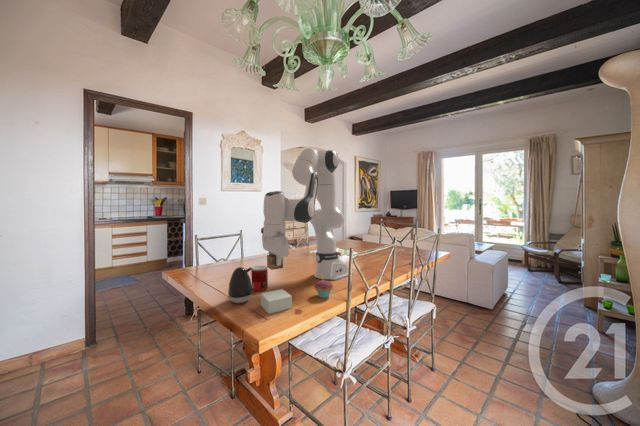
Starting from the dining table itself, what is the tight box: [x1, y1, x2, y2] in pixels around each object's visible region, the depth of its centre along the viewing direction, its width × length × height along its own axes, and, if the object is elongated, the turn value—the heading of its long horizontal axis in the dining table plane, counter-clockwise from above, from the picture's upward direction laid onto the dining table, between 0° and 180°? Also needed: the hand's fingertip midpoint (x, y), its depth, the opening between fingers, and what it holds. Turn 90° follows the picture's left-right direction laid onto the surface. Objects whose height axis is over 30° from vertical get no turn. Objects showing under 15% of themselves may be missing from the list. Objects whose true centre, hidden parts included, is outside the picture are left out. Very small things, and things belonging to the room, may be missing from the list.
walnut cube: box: [266, 254, 284, 271], centre depth 105 cm, size 5×5×5 cm
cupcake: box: [314, 273, 334, 299], centre depth 117 cm, size 9×8×12 cm
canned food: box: [250, 265, 269, 293], centre depth 127 cm, size 8×8×11 cm
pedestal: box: [260, 288, 293, 315], centre depth 106 cm, size 10×10×5 cm
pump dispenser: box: [227, 266, 253, 304], centre depth 112 cm, size 10×10×15 cm
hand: (275, 263), depth 105 cm, fingers closed on walnut cube, 5 cm apart
